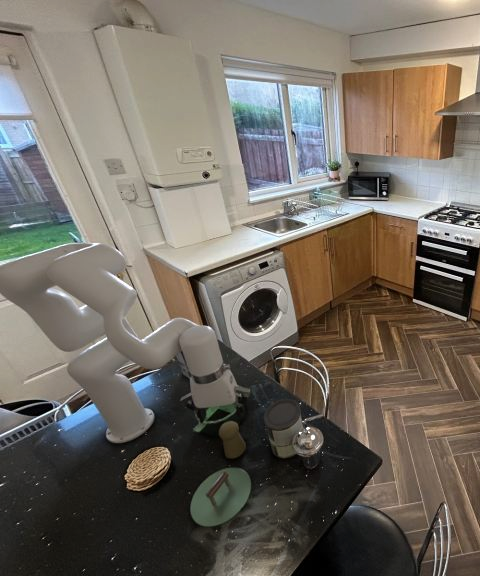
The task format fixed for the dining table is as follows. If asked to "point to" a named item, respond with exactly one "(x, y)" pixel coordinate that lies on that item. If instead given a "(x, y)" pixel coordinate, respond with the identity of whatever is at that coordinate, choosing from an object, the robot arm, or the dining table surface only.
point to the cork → (232, 439)
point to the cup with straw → (308, 443)
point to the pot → (214, 426)
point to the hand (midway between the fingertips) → (222, 415)
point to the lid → (220, 497)
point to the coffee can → (283, 426)
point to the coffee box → (183, 364)
